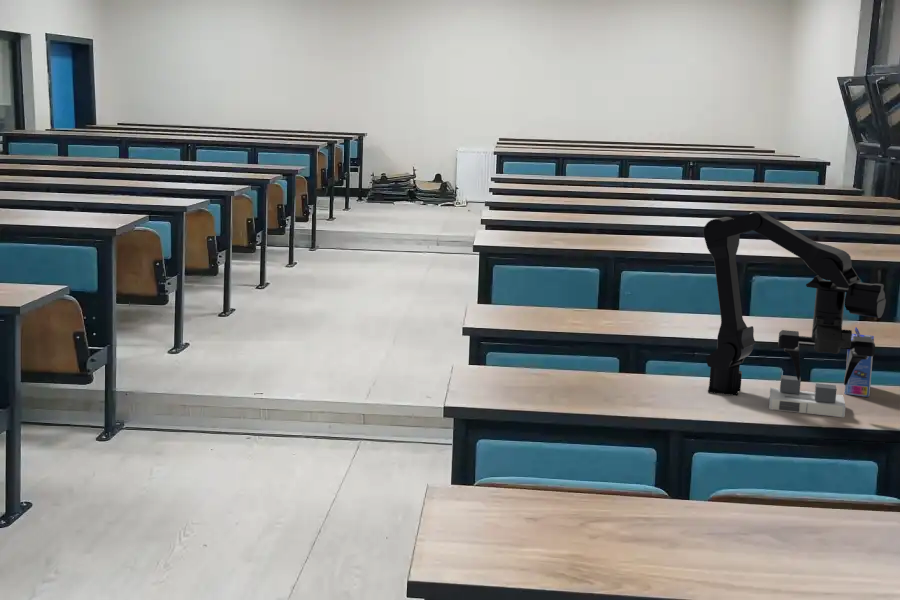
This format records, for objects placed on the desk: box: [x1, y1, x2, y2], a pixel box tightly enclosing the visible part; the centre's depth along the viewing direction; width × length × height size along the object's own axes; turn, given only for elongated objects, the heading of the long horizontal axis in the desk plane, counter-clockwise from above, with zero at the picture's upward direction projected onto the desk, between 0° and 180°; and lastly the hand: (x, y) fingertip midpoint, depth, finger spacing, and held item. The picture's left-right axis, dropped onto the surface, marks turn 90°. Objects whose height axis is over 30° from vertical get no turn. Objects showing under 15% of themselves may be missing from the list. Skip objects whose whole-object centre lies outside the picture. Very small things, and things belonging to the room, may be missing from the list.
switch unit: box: [768, 387, 846, 418], centre depth 204 cm, size 15×8×3 cm, turn 71°
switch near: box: [814, 383, 838, 403], centre depth 201 cm, size 4×3×3 cm
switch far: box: [779, 374, 802, 394], centre depth 207 cm, size 4×3×3 cm
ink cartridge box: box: [844, 326, 875, 398], centre depth 217 cm, size 10×6×14 cm, turn 155°
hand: (821, 382), depth 201 cm, fingers open, 9 cm apart
